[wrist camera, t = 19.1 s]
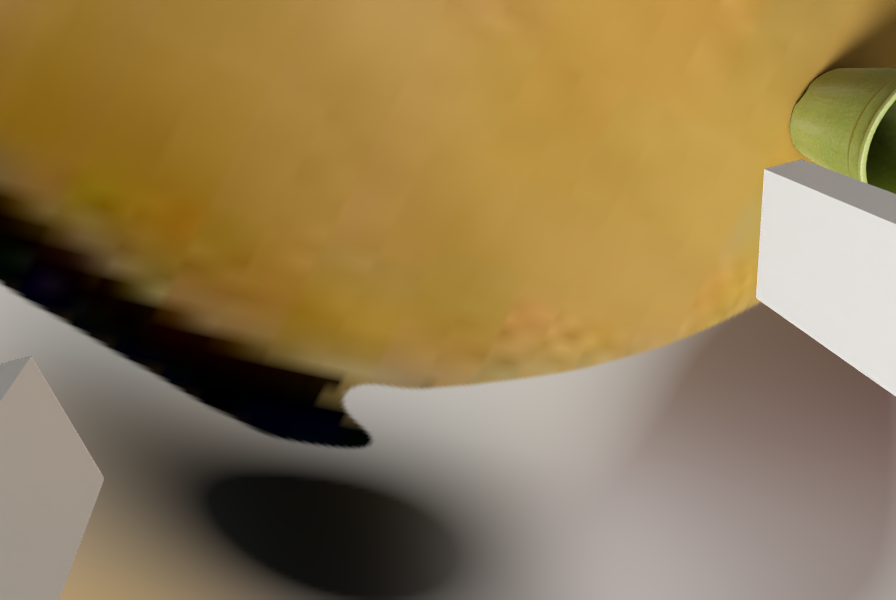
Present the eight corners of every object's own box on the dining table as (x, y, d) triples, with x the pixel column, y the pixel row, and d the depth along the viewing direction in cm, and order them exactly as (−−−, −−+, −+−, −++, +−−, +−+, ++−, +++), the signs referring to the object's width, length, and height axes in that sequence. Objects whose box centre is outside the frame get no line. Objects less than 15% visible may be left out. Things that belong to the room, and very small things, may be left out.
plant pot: (769, 200, 46) (862, 245, 39) (760, 71, 42) (863, 93, 34) (887, 153, 47) (1001, 187, 39) (890, 19, 42) (1021, 30, 35)
